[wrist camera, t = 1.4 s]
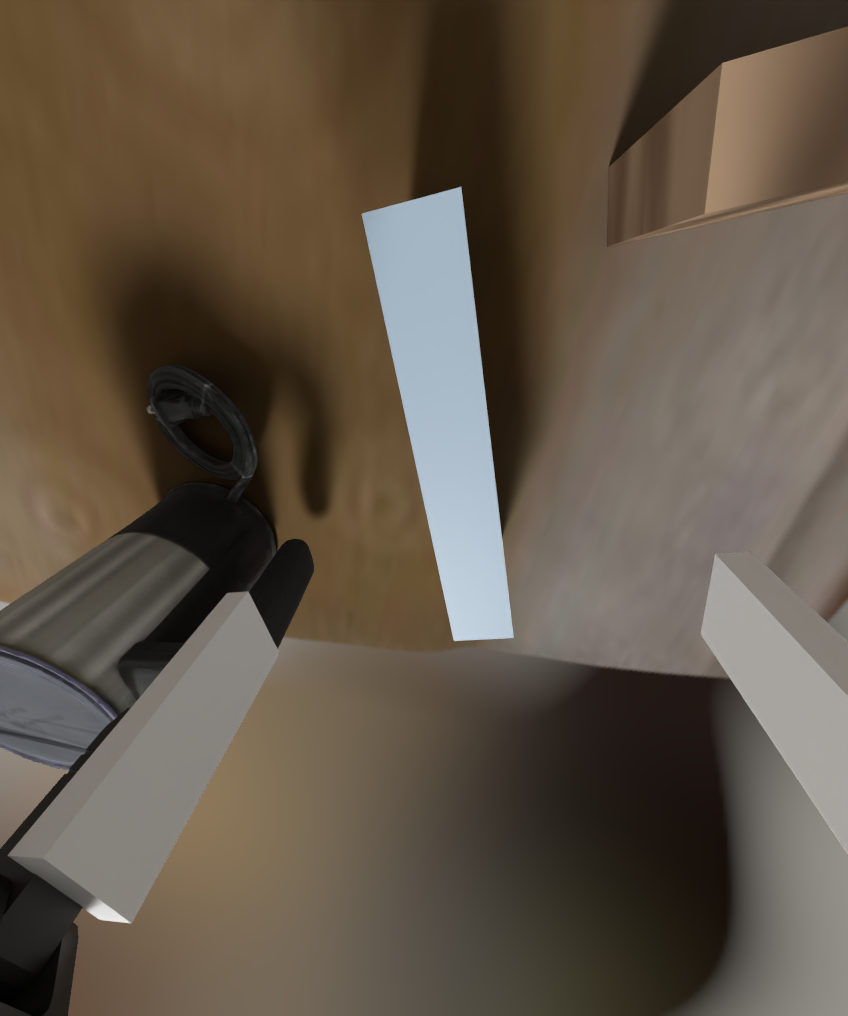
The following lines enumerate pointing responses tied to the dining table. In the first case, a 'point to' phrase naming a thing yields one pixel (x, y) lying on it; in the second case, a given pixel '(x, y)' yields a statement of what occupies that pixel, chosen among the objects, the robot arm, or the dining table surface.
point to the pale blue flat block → (444, 400)
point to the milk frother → (143, 590)
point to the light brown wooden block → (740, 143)
